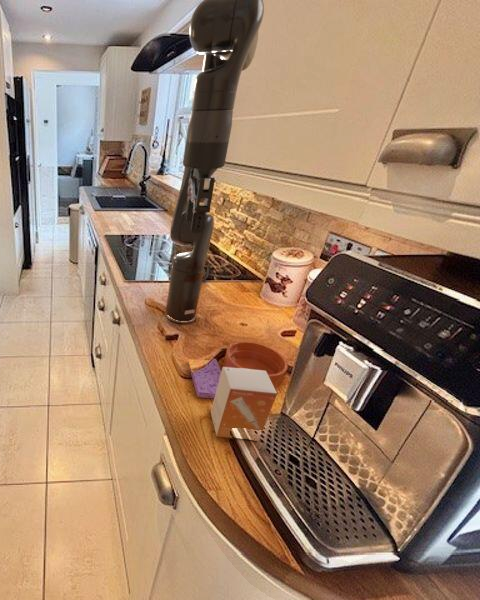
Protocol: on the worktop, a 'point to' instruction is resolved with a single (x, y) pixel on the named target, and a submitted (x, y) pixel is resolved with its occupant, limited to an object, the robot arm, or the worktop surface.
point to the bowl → (257, 360)
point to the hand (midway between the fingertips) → (193, 226)
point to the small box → (242, 400)
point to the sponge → (207, 379)
